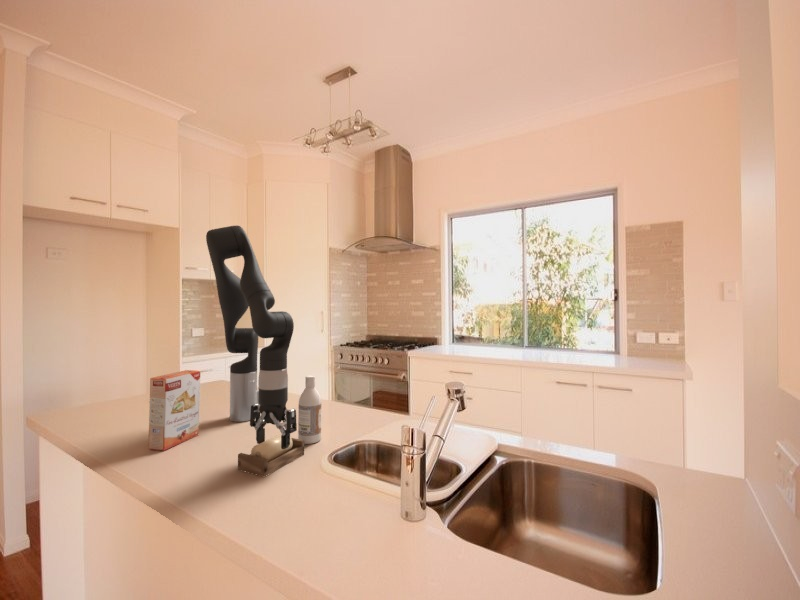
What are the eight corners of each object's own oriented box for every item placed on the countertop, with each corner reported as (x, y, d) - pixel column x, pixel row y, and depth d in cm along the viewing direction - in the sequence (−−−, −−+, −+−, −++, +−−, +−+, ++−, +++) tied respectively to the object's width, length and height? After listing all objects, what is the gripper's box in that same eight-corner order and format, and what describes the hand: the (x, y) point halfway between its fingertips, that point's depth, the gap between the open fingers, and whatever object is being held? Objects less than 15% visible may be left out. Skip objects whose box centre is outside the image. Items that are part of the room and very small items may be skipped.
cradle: (279, 449, 109) (279, 435, 109) (304, 454, 105) (304, 440, 105) (237, 469, 96) (237, 454, 96) (264, 477, 92) (264, 460, 92)
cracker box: (165, 451, 107) (166, 378, 107) (147, 449, 108) (148, 377, 108) (200, 434, 120) (201, 370, 121) (184, 433, 122) (185, 369, 122)
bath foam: (318, 444, 113) (319, 378, 113) (295, 444, 113) (296, 378, 113) (322, 436, 120) (323, 374, 120) (301, 436, 120) (301, 374, 120)
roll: (278, 449, 106) (278, 431, 106) (292, 452, 104) (292, 434, 104) (250, 463, 97) (250, 443, 97) (265, 467, 95) (266, 447, 95)
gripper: (303, 385, 101) (302, 445, 101) (263, 380, 107) (263, 436, 107) (284, 391, 94) (283, 455, 94) (242, 385, 100) (242, 445, 100)
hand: (272, 445), depth 101 cm, fingers open, 8 cm apart
